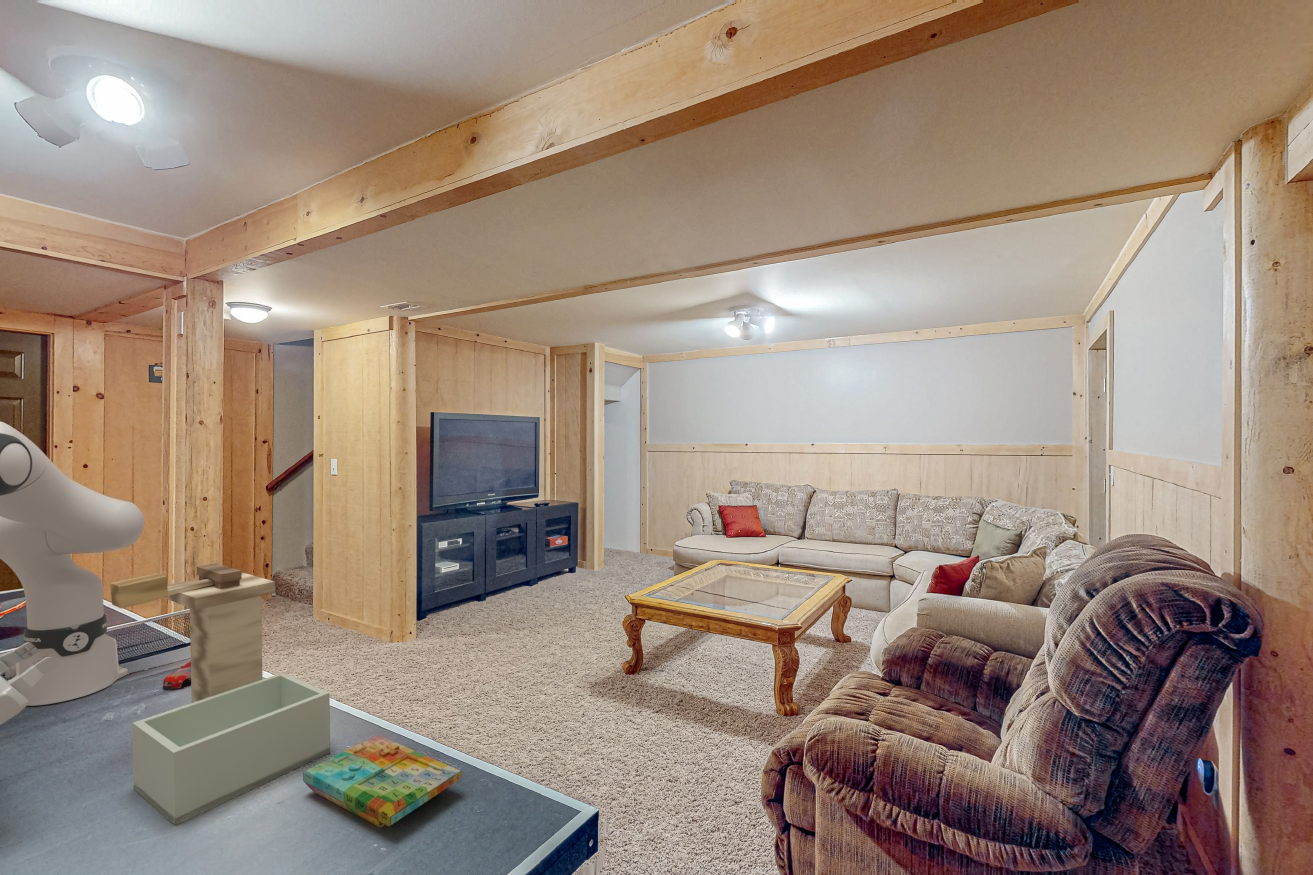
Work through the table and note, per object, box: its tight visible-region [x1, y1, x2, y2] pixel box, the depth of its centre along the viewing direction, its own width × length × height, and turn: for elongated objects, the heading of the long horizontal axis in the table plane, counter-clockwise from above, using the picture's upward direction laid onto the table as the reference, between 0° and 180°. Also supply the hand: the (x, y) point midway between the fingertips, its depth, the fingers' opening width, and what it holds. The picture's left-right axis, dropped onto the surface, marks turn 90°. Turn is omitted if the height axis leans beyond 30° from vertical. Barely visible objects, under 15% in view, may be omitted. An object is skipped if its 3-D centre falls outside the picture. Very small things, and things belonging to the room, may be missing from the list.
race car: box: [162, 660, 191, 690], centre depth 127 cm, size 13×5×4 cm, turn 163°
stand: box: [165, 563, 276, 703], centre depth 105 cm, size 14×12×29 cm
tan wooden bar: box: [109, 572, 215, 610], centre depth 100 cm, size 4×17×4 cm, turn 148°
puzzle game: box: [302, 734, 463, 828], centre depth 86 cm, size 12×5×20 cm
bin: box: [132, 672, 331, 826], centre depth 93 cm, size 15×21×10 cm
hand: (43, 652), depth 86 cm, fingers open, 8 cm apart
